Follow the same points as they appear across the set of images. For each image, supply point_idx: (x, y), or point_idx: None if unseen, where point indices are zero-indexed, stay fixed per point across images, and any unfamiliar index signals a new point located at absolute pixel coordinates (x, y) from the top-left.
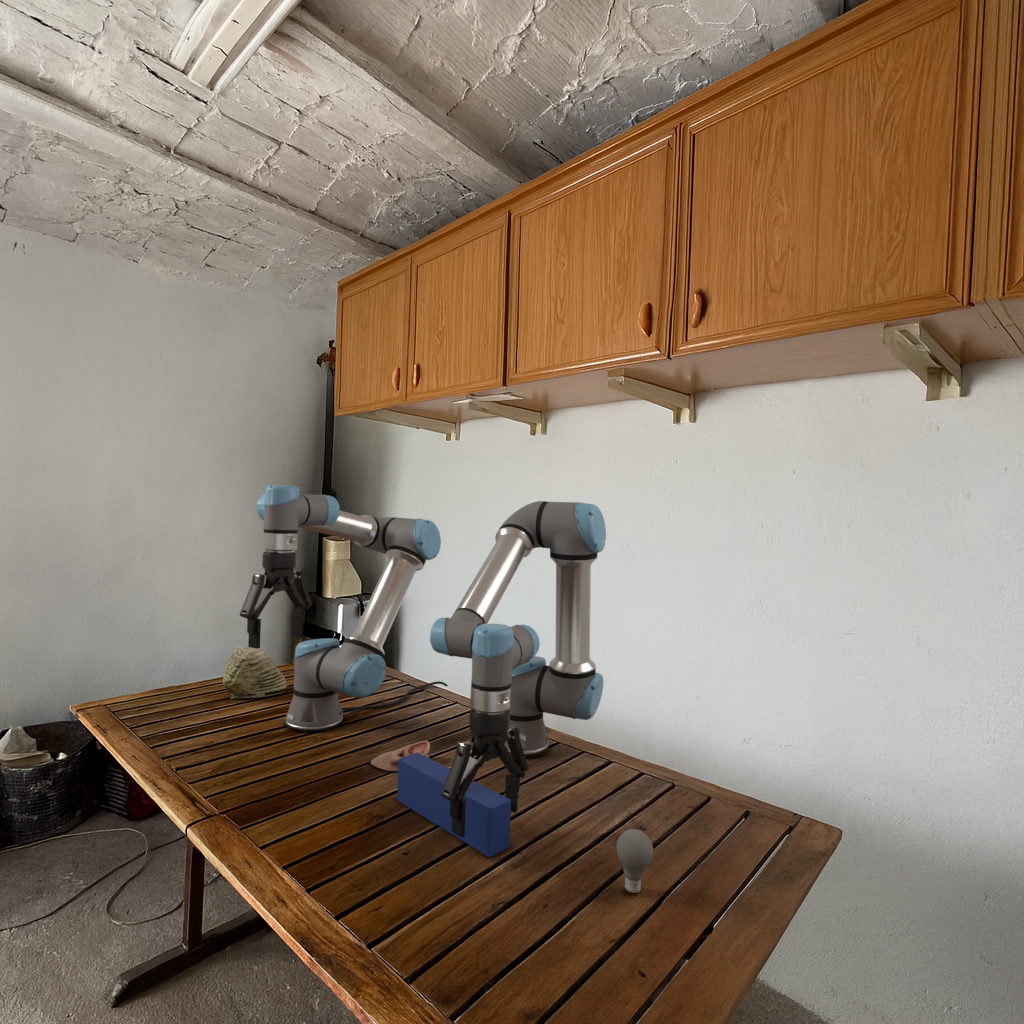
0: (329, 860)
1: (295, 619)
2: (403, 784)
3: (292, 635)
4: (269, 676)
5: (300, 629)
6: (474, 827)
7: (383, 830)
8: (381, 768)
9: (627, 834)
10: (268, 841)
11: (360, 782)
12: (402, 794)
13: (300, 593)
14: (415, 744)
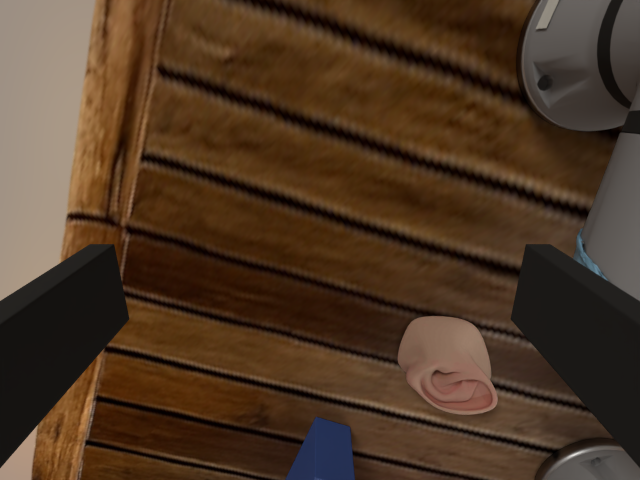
0: (143, 428)
1: (617, 353)
2: (309, 453)
3: (528, 250)
4: None
5: (544, 351)
6: None
7: (235, 441)
8: (399, 349)
9: None
10: (122, 346)
11: (340, 344)
12: (310, 438)
13: None
14: (484, 383)
